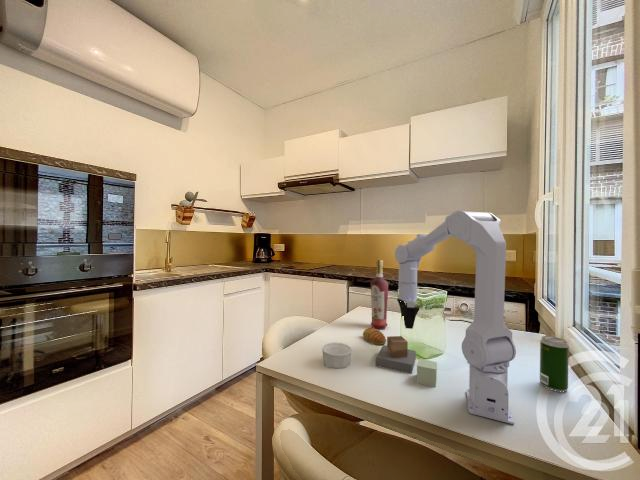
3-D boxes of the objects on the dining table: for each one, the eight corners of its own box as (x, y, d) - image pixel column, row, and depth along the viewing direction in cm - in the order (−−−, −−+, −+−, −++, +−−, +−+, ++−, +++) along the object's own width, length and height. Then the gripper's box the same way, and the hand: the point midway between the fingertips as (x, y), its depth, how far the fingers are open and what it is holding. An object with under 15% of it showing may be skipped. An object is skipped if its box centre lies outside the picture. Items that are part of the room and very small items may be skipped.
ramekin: (357, 362, 80) (357, 348, 80) (339, 373, 74) (339, 357, 74) (334, 353, 86) (335, 340, 86) (315, 362, 80) (315, 348, 80)
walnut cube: (407, 357, 78) (407, 341, 78) (392, 357, 78) (392, 342, 78) (401, 350, 83) (401, 336, 83) (387, 351, 82) (387, 336, 82)
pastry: (391, 344, 94) (391, 333, 94) (374, 347, 92) (374, 336, 92) (375, 335, 103) (375, 325, 103) (360, 338, 100) (360, 327, 100)
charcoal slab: (411, 375, 74) (411, 364, 74) (375, 367, 78) (375, 357, 78) (415, 360, 83) (415, 350, 83) (383, 354, 87) (383, 345, 87)
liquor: (391, 327, 112) (392, 260, 112) (382, 331, 107) (382, 261, 106) (376, 323, 117) (376, 259, 117) (366, 327, 112) (367, 260, 111)
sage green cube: (435, 387, 67) (436, 369, 67) (416, 383, 69) (417, 365, 69) (436, 378, 71) (436, 362, 71) (418, 374, 73) (418, 358, 73)
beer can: (556, 394, 64) (557, 344, 64) (534, 382, 70) (534, 336, 70) (573, 391, 66) (574, 342, 65) (550, 380, 71) (551, 334, 71)
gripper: (425, 286, 79) (424, 332, 79) (416, 279, 93) (416, 318, 93) (400, 285, 80) (399, 331, 80) (395, 278, 94) (395, 317, 94)
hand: (407, 324), depth 87 cm, fingers open, 7 cm apart
